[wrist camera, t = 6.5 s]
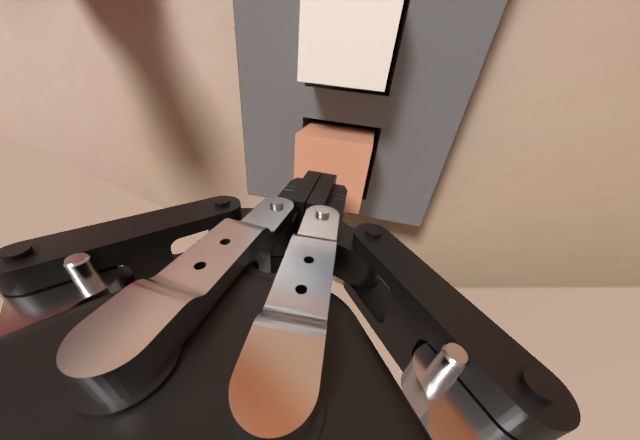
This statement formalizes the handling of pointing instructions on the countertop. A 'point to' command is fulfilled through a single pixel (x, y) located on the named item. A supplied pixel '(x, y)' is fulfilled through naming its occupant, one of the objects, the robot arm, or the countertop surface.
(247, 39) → the board
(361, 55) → the white key
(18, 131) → the countertop surface
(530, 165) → the countertop surface
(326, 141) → the terracotta key
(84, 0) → the countertop surface
